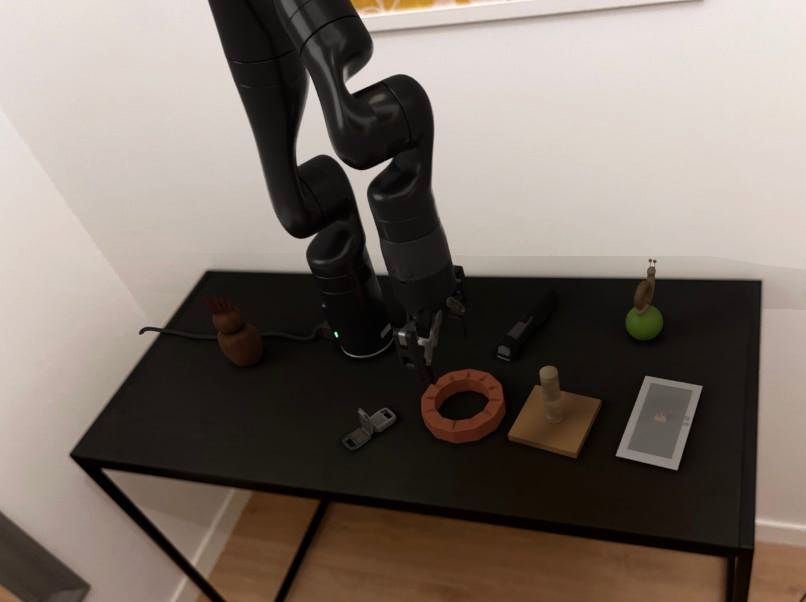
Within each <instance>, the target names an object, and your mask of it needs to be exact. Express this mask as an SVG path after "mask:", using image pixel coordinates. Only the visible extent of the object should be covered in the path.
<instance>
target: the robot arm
mask: <svg viewBox="0 0 806 602" xmlns="http://www.w3.org/2000/svg"><path fill="white" fill-rule="evenodd" d="M207 3H208V6H209V9H210V12H211V16H212V18H213V22H214V25H215V28H216V32H217V35H218V38H219V41H220V45H221V48H222V51H223V54H224V58H225V61H226V63H227V66H228V68H229V72H230V75H231V78H232V80H233V83H234V86H235V88H236V91H237V93H238V96H239V99H240V102H241V104H242V107H243V110H244V112H245V115H246V118H247V121H248V124H249V127H250V130H251V133H252V137H253V139H254V143H255V147H256V151H257V154H258V159H259V162H260V163H259V164H260V167H261V172H262V175H263V179H264V183H265V187H266V191H267V194H268V197H269V198H268V199H269V201H270V204H271V206H272V210H273V212H274V214H275V217H276V218H277V220H278V222H279V223H280V225H281V227H282V228H283V229H284V231H286V233H287V234H288V235H290V236H291V237H293V238H294V239H298V240H306V239H308V238H311V237H313V238H312V239H311V241H310V242H309V244H308V246H307V248H306V250H305V258H306V262H307V265H308V267H309V269H310V272H311V275H312V277H313V280H314V281H315V284H316V286H317V288H318V291H319V295H320V296H321V299H322V301H323V302H322V303H321V311H322V312H323V316H324V317H325V321H324V322H323V323H320V324H318V325H316V326H315V327H314V328H313V331H312V334H311V335H309V336H299V335H295V334H291V333H286V332H283V331H282V332H281V331H263V332H259V334H260V336H261V338H266V337H267V338H268V337H269V338H270V337H278V338H279V337H280V338H284V339H285V338H286V339H289V340H292V341H299V342H312V341H313V340H314V341H315V340H316V339H317V338H318V334H319V331H320V330H321V331H322V334H323V336H324V339H327V340H332V341H335V344H336V346H337V349H339V350H342V353H343V354H344V355H345V356H346V357H347V358H348V359H351V360H354V361H368V360H373V359H375V358H377V357H380V356H381V355H384V354H386V353H387V352H388V351H389V350H390V349H391V348H392V347H393V345H394V346H395V348H396V352H397V354H398V359H399V363H400V366H401V369H403V370H409V371H413V372H415V373H417V376H418V379H419V381H420V382H421V383H424V384H429V385H430V384H433V385H435V384H436V383H437V381H438V379H439V376H438V373H437V370H436V369H437V368H436V366H435V363H434V360H433V353H434V348H435V347H437V346H438V342H439V333H440V330H441V328H442V325H443V324H444V323H445V322H447V325H448V330H449V333H450V336H451V337H452V338H454V339H459V340H466V339H467V337H468V329H467V323H466V318H465V314H466V311H467V310H466V307H465V305H466V304H469V303H470V302H471V300H472V299H471V298H472V297H471V292H470V289H469V285H468V281H467V278H466V274H465V271H464V267H463V266H462V265H458V264H454V263H453V259H452V255H451V250H450V246H449V242H448V241H449V240H448V238H447V233H446V230H445V228H444V225H443V223H442V221H441V218H440V213H439V209H438V204H437V201H436V200H437V199H436V197H435V193H434V188H433V171H434V170H433V169H434V168H433V167H434V166H433V165H434V147H435V127H436V126H435V125H436V124H435V114H434V110H433V106H432V102H431V100H430V97H429V95H428V93H427V91H426V89H425V88H424V86H423V85H422V84H421V83H420V82H419V81H417V80H416V79H415V78H414V77H412V76H410V75H409V74H404V73H397V74H393V75H390V76H388V77H385V78H383V79H381V80H379V81H377V82H374V83H372V84H370V85H368V86H365V87H363V88H361V89H359V90H357V91H354V92H352V93H351V92H350V91H349V90H348V88H347V86H346V84H347V82H348V81H350V80H351V79H352V78H353V77H355V76H356V75H357V74H359V73H360V72H361V71H362V70H363V69H364V68H365V67H366V66H367V65H368V63H369V62H370V61H371V60H372V58H373V55H374V52H375V46H374V45H375V44H374V41H373V38H372V36H371V34H370V32H369V30H368V28H367V27H366V25H365V23H364V21H363V20H362V18H361V16H360V14H359V13H358V11H357V9H356V7H355V6H354V4H353V3H352V1H351V0H207ZM311 81H312V84H313V87H314V89H315V92H316V94H317V98H318V101H319V104H320V108H321V111H322V115H323V119H324V123H325V128H326V131H327V135H328V138H329V142H330V144H331V147H332V150H333V151H334V153H335V155H336V156H337V157H338V159H339V160H340V161H341V162H342V163H343V164H345V165H346V166H347V167H349V168H351V169H353V170H356V171H367V170H371V169H373V168H375V167H377V166H379V165H382V164H383V163H385V162H387V161H389V160H390V161H389V163H388V164H387V165H386V166H385V167H384V168H383V169H382V170H381V171H380V172H379V173H377V174H376V176H375V177H373V179H372V180H371V181H370V182H369V184H368V185H367V188H366V197H367V198H366V199H367V204H368V206H369V209H370V213H371V216H372V219H373V222H374V226H375V228H376V231H377V235H378V239H379V240H378V241H379V247H380V252H381V255H382V259H383V261H384V265H385V268H386V271H387V275H388V277H389V281H390V284H391V287H392V290H393V293H394V296H395V299H396V300H397V301H398V302H399V303H400V305H402V307H403V308H404V309H405V312H406V323H405V324H404V326H403V327H402V328H399V327H394V326H393V323H392V321H391V317H390V314H389V310H388V308H387V305H386V302H385V297H384V295H383V292H382V289H381V286H380V283H379V280H378V278H377V275H376V271H375V268H374V265H373V262H372V260H371V256H370V254H369V250H368V247H367V236H366V231H365V228H364V224H363V221H362V220H363V219H362V217H361V213H360V209H359V205H358V200H357V197H356V194H355V190H354V187H353V185H352V183H351V180H350V178H349V176H348V174H347V172H346V170H345V168H344V167H343V166H342V165H341V164H340V162H339V161H337V159H335V158H334V157H332V156H331V155H328V154H323V153H321V154H317V155H315V156H313V157H311V158H309V159H308V160H306V161H304V162H302V163H301V164H298V159H297V145H298V138H299V134H300V129H301V125H302V122H303V118H304V114H305V110H306V106H307V101H308V99H309V98H308V97H309V91H310V83H311ZM146 332H155V333H161V334H171V335H175V336H176V335H177V336H180V337H184V338H189V339H196V340H211V341H212V340H213V341H218V338H217V336H218V334H214V335H213V334H199V333H190V332H185V331H182V330H176V329H171V328H161V327H157V326H156V327H155V326H144V327H142V328H141V329H140V330H139V331H138V335H140V336H141V335H143V334H144V333H146ZM419 332H420V333H424V334H429V338H424V337H420V336H419V335H418V333H419ZM420 346H422V347H424V354H423V353H421V347H420Z"/></svg>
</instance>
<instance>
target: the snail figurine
mask: <svg viewBox="0 0 806 602" xmlns="http://www.w3.org/2000/svg"><path fill="white" fill-rule="evenodd" d="M657 262H658V261H657V259H653V258H649V259H648V263H649V266H648V268H647V269H646V274H647V275H646V276H647V277H646V279H645V280H642V281H641V282H639V284H638V285H637V287H636V290H635V293H634V297H633V308H631V310H629V312H628V313H627V315H626V318H625V328H626V330H627V332H628V334H629V335H630V336H631V337H633V338H634V339H635V340H637V341H638V340H639V341H650V340H653V339H654V338H656V337H657V336H658V335H659V334H660V333H661V331H662V330H663V325H664V319H663V315H662V313H661V312H660V311H659V309H658V308H656V307H655V306H653V305H651V304H652V300H653V298H654V293H655V286H656V273H657V269H656V263H657ZM651 263H653V265H654V266H652V264H651Z"/></svg>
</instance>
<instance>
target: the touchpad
mask: <svg viewBox="0 0 806 602" xmlns="http://www.w3.org/2000/svg"><path fill="white" fill-rule="evenodd" d="M703 387H704V386H703V385H698V384H693V383H688V382H681V381H677V380H671V379H664V378H659V377H654V376H648V375H645V377H644V380H643V382H642V385H641V387H640V390H639V393H638V395H637V398H636V401H635V403H634V405H633V409H632V411H631V414H630V416H629V419H628V421H627V424H626V428H625V430H624V433H623V435H622V437H621V441H620V443H619V446H618V448H617V450H616V454H615V457H618V458H623V459H628V460H632V461H636V462H641V463H644V464H649V465H653V466H656V467H661V468H664V469H665V468H666V469H670V470H674V471H678V470H679V466H680V462H681V460H682V457H683V453H684V449H685V446H686V443H687V439H688V436H689V433H690V430H691V427H692V423H693V419H694V417H695V414H696V411H697V410H696V409H697V406H698V403H699V400H700V397H701V393H702V390H703Z"/></svg>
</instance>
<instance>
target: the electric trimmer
mask: <svg viewBox="0 0 806 602" xmlns="http://www.w3.org/2000/svg"><path fill="white" fill-rule="evenodd" d="M557 302H558V295H557V291H556V288H555V287H548V288H547V290H546V291H545V292H544V293H543V294H542V295H541V296H540V297H539V298H538V299H537V300H536V301H535V302H534V303H533V304H532V305H531V307H530V308H528V310H527V311H525V313H523V314H522V315H521V316H520V317H519V318H518V319H517V320H516V321H515V322H514V323H513V324H512V325H511V326H510V327H509V329H507V331H505V333H503V335H502V336H501V337H500V338H499V340H498V342H497V345H496V346H495V349H494V352H495V355H496V357H498V358H500V359H502V360H505V361H508V362H510V361H512V360H514V359H516V357H517V356H518V352H519V348H520V346H521V345H523V343H524V342H525V341H526V339H527V338H528V337H529V336H530V335H531V333H532V332H533V331H534V329H536V328H538V327H541V326H542V325H543V324H544V322H545V321H546V320H547V318H548V316H549V314H551V312H552V310H553V309H554V306H555V305H556V303H557Z"/></svg>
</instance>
